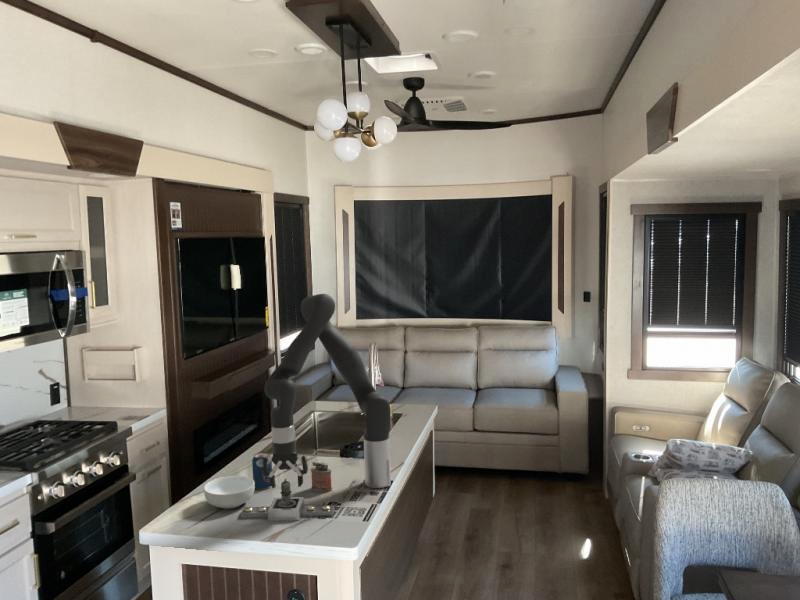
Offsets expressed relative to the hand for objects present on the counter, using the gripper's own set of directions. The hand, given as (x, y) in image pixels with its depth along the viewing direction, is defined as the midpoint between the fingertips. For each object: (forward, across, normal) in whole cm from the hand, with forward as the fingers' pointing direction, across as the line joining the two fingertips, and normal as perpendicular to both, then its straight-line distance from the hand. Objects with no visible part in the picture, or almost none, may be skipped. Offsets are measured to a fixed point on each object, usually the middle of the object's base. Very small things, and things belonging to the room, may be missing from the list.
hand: (286, 486), depth 216 cm
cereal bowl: (+9, +22, -9) cm, 25 cm away
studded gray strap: (+9, +1, 0) cm, 9 cm away
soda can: (+10, +13, -24) cm, 29 cm away
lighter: (+10, -9, -20) cm, 24 cm away
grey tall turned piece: (+10, 0, 0) cm, 10 cm away
